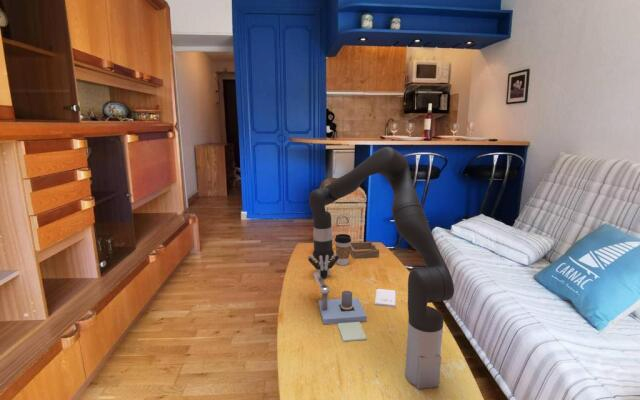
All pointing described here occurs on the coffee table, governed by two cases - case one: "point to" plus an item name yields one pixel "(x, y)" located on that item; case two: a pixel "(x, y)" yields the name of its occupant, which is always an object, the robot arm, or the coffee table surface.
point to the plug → (346, 301)
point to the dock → (333, 311)
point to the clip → (321, 283)
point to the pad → (351, 331)
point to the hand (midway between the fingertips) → (323, 277)
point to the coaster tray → (366, 253)
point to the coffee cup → (343, 248)
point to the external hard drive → (385, 298)
